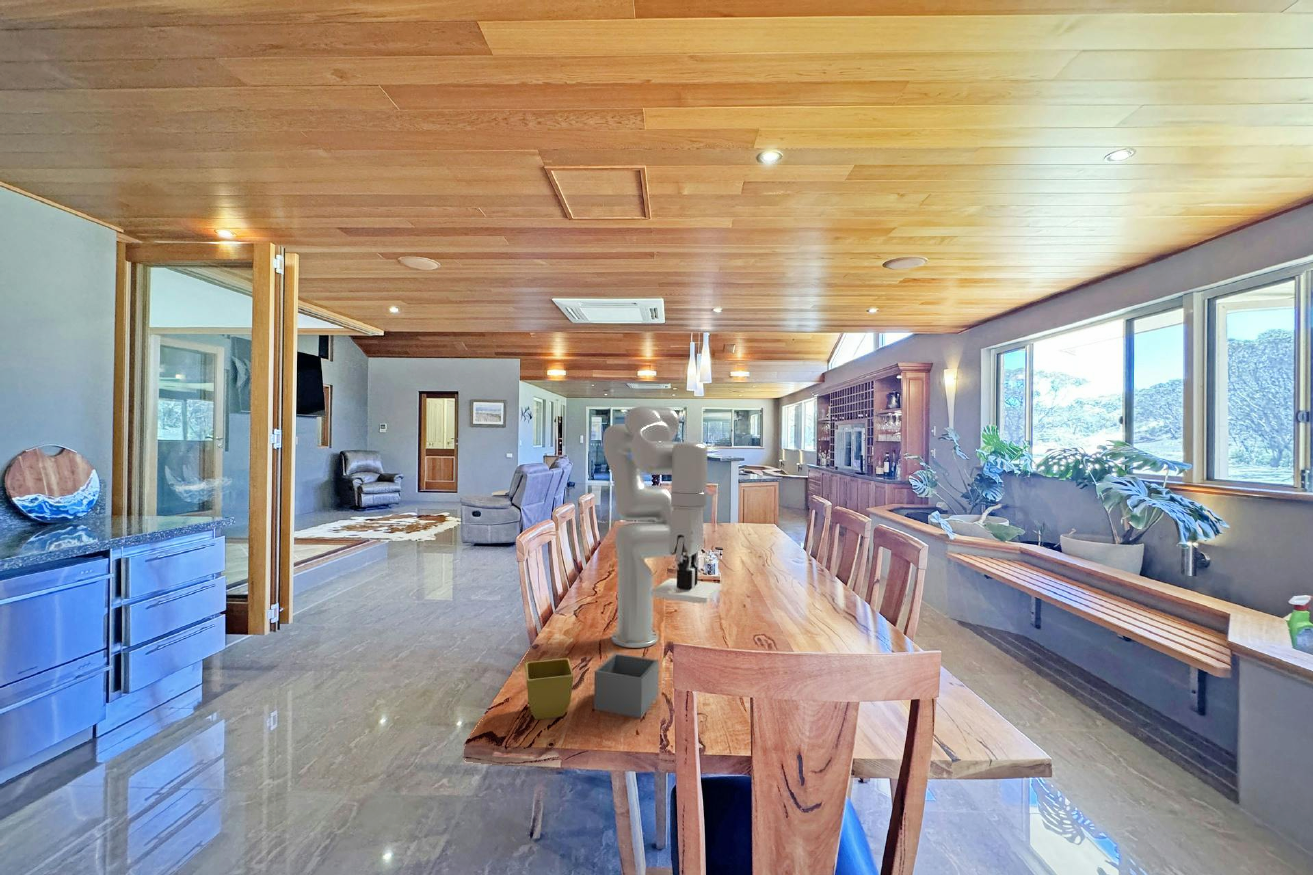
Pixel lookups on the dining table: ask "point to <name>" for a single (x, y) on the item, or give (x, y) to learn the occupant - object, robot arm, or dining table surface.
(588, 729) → the dining table surface
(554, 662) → the flower pot
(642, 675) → the open box
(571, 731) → the dining table surface
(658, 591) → the lid
